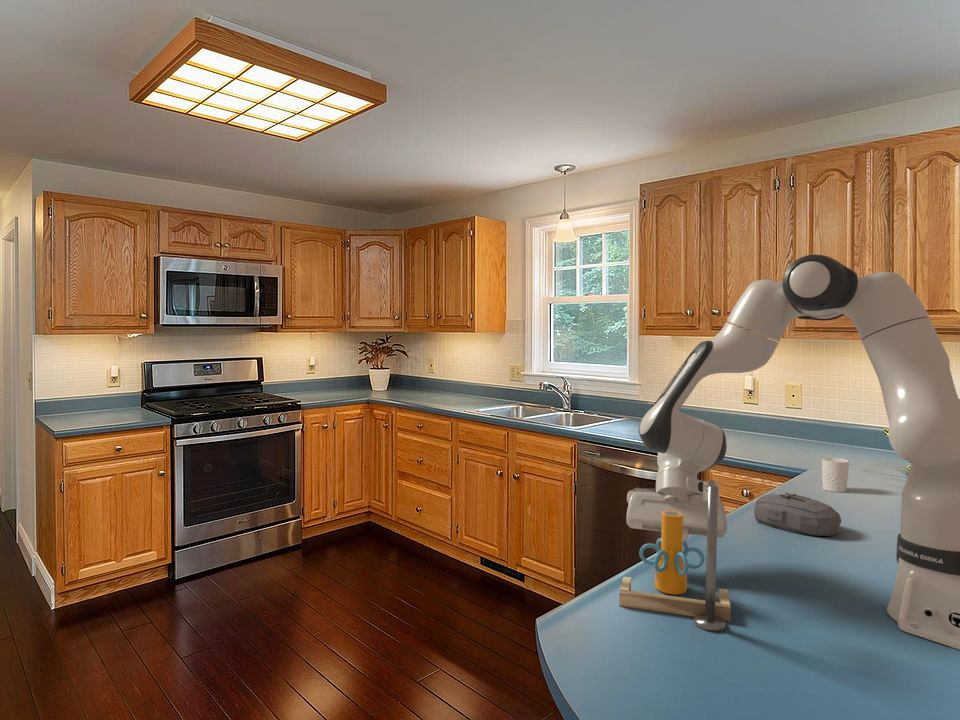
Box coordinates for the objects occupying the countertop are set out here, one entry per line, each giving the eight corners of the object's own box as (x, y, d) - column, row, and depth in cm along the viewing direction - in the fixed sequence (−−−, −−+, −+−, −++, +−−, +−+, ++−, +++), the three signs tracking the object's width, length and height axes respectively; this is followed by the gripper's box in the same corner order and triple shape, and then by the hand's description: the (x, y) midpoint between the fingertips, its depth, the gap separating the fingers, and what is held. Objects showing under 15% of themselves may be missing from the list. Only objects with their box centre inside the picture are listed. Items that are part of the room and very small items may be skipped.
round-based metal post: (693, 603, 115) (696, 475, 114) (722, 607, 113) (725, 477, 112) (694, 629, 104) (698, 488, 104) (726, 633, 103) (730, 491, 102)
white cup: (848, 489, 205) (849, 459, 204) (847, 494, 198) (848, 463, 198) (821, 485, 209) (822, 456, 209) (819, 490, 202) (820, 460, 202)
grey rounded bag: (747, 523, 166) (827, 543, 150) (748, 493, 165) (828, 509, 150) (773, 514, 175) (851, 531, 160) (774, 484, 175) (852, 499, 159)
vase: (662, 572, 129) (664, 502, 128) (710, 588, 122) (712, 513, 121) (630, 589, 121) (631, 513, 120) (679, 607, 113) (681, 526, 112)
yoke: (623, 589, 121) (623, 576, 121) (727, 602, 115) (727, 589, 115) (619, 605, 113) (619, 592, 113) (730, 621, 107) (730, 607, 107)
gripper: (627, 479, 136) (622, 536, 127) (726, 488, 130) (728, 549, 121) (628, 494, 141) (623, 551, 132) (724, 503, 134) (726, 563, 125)
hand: (674, 550), depth 126 cm, fingers closed, pressing on vase
